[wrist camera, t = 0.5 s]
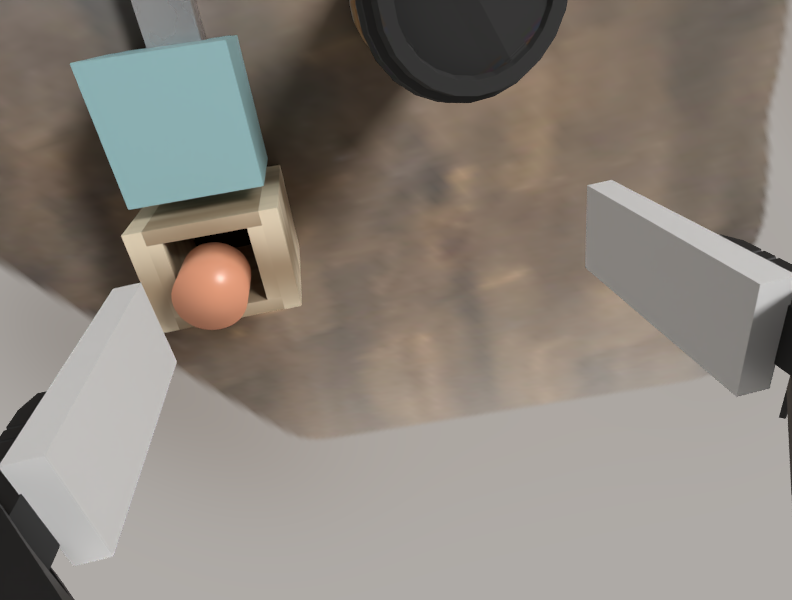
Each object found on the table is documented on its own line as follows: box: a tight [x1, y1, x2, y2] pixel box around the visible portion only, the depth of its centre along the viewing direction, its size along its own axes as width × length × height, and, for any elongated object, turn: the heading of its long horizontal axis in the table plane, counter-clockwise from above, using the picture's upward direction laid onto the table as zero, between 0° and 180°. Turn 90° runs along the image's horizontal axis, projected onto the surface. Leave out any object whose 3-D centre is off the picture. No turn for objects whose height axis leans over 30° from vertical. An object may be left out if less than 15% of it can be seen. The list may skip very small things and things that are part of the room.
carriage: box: [70, 35, 268, 210], centre depth 29 cm, size 7×7×8 cm
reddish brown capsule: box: [171, 242, 251, 330], centre depth 27 cm, size 4×4×3 cm
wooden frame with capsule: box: [121, 165, 302, 333], centre depth 33 cm, size 6×8×9 cm
